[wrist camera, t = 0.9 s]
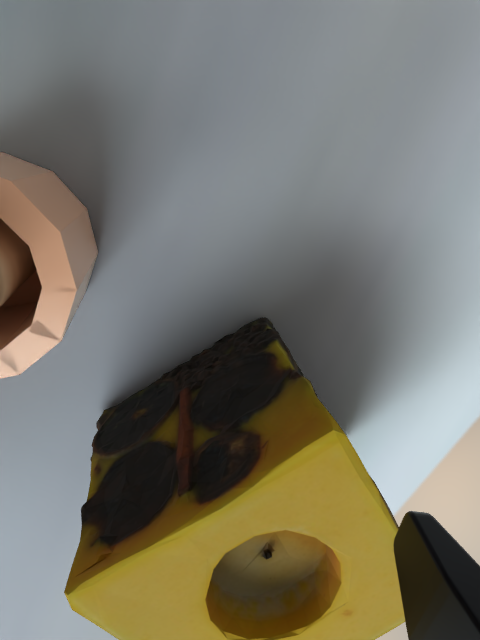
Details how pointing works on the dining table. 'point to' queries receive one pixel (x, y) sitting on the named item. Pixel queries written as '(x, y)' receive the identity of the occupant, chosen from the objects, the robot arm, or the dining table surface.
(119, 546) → the candle
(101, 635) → the dining table surface
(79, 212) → the terracotta cup
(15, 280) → the birch pin
